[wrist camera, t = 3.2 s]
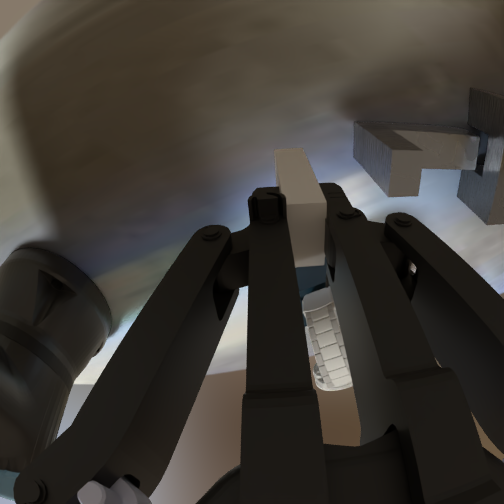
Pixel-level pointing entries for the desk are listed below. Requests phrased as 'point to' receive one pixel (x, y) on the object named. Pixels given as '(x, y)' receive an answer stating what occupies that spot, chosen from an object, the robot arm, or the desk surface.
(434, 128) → the grey l-shaped block
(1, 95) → the desk surface
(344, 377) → the watch
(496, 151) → the socket block
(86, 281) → the robot arm
